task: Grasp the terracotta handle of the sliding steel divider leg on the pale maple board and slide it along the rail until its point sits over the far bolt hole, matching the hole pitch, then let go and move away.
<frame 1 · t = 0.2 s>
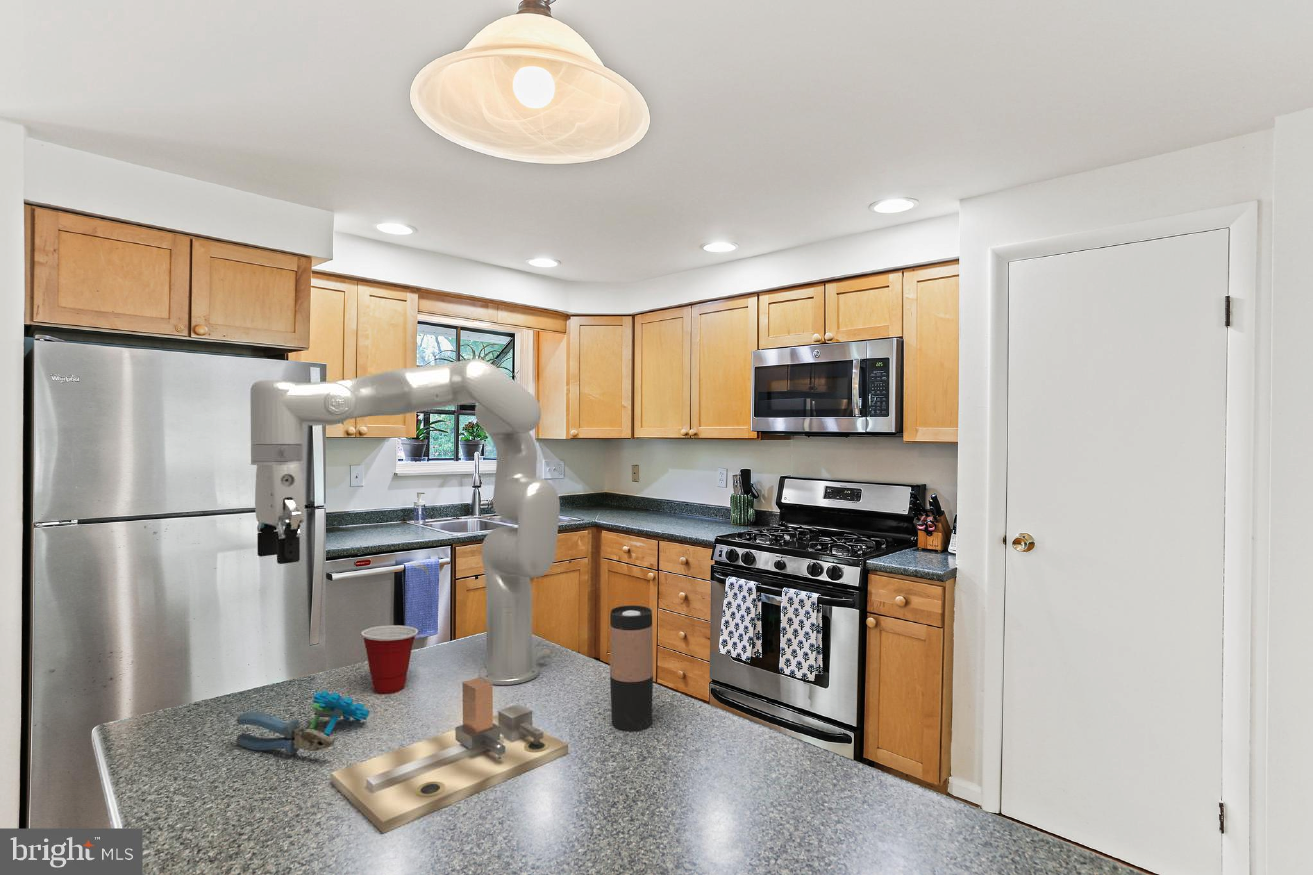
hand: (278, 558, 110), 31 cm above the countertop, tool pointing down, fingers open, 9 cm apart
pliers: (284, 755, 108), on the countertop
gear: (339, 728, 118), on the countertop
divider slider: (485, 718, 104), point 7 cm above the countertop, slide at 0.0 cm
travel mug: (631, 723, 119), on the countertop
pitch board: (454, 767, 103), on the countertop
plastic cup: (390, 689, 135), on the countertop
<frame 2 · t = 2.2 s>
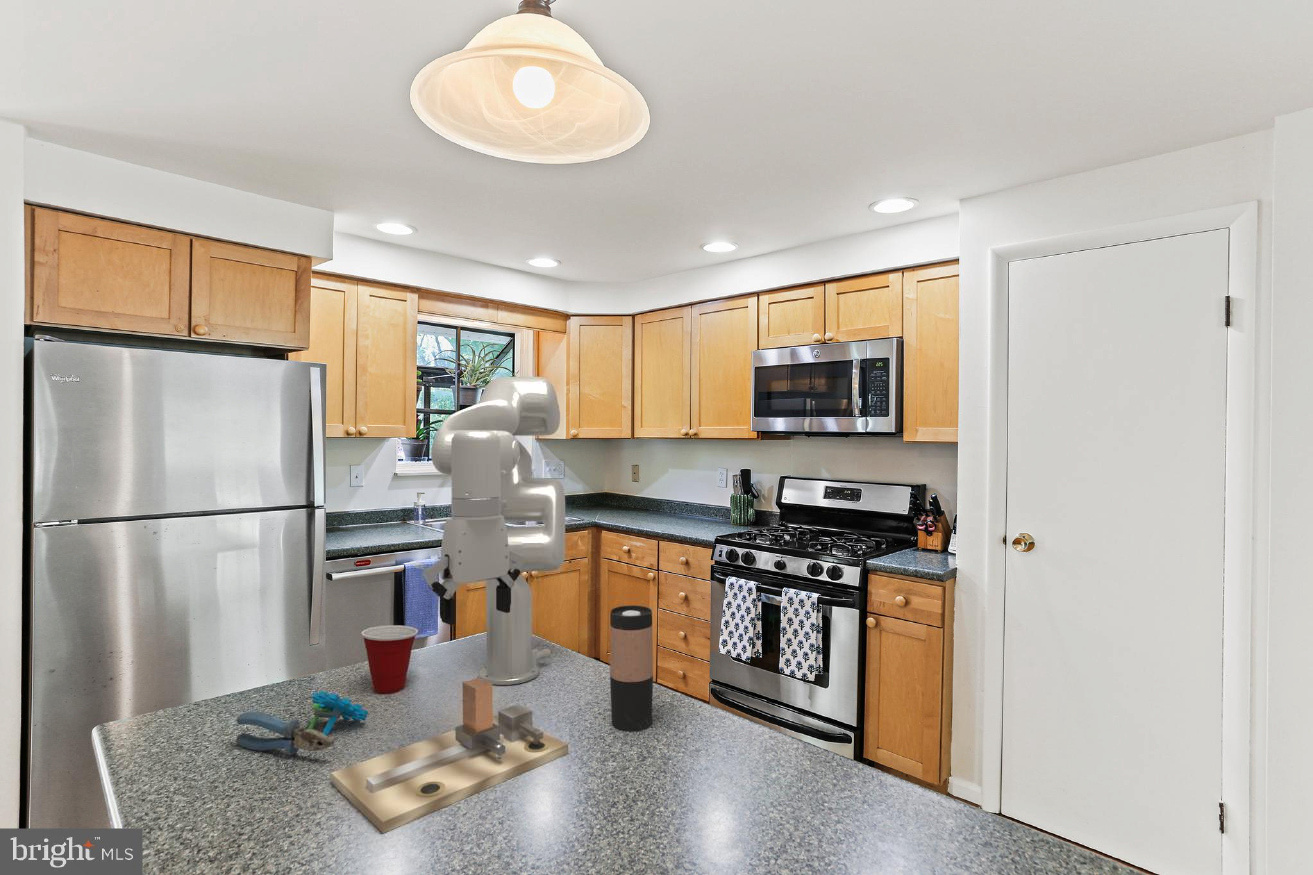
hand: (476, 617, 105), 23 cm above the countertop, tool pointing down, fingers open, 9 cm apart
nothing on the countertop moved.
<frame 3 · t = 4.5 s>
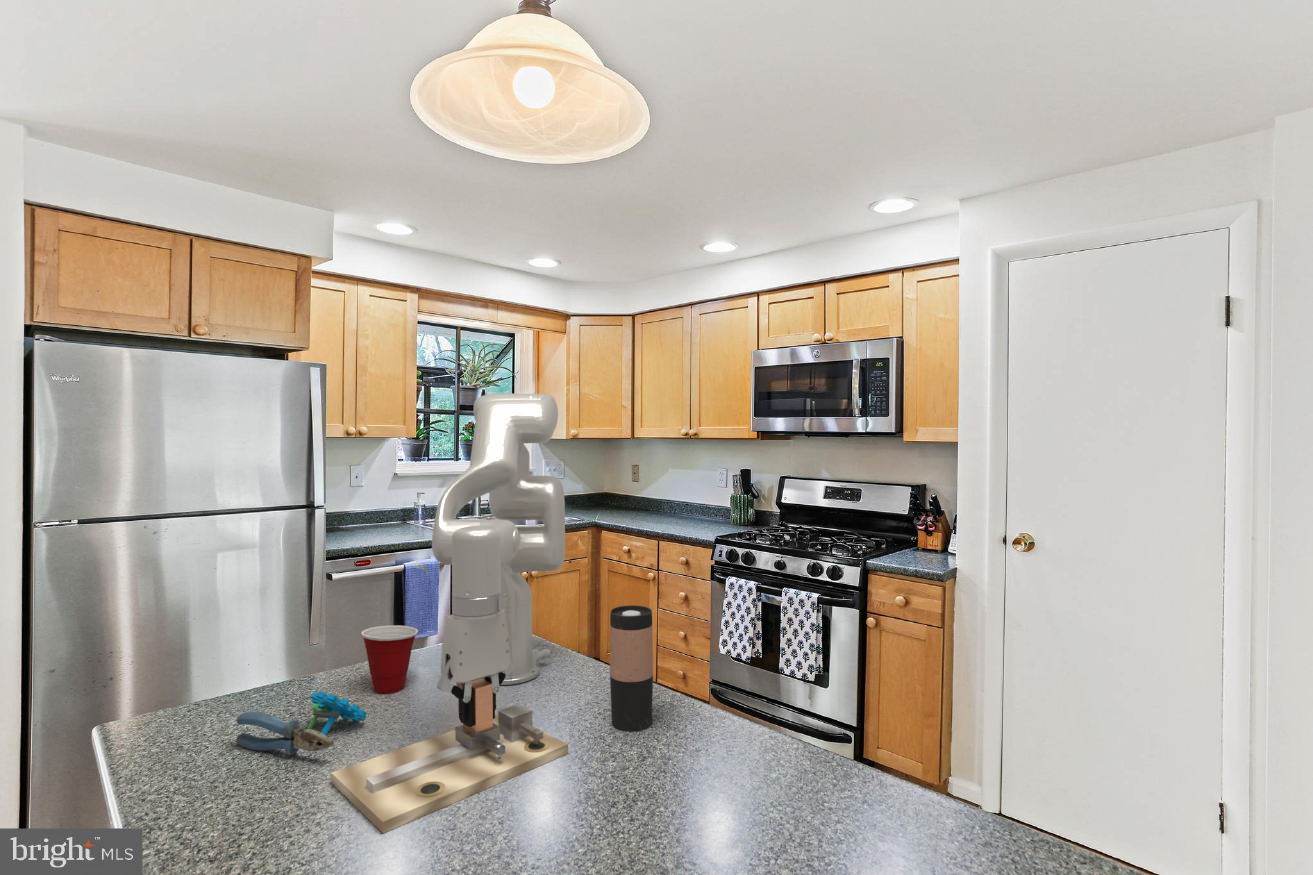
hand: (477, 719, 106), 6 cm above the countertop, tool pointing down, fingers closed on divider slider, 3 cm apart
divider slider: (485, 718, 104), point 7 cm above the countertop, slide at 0.0 cm, touching gripper
everything else where it was.
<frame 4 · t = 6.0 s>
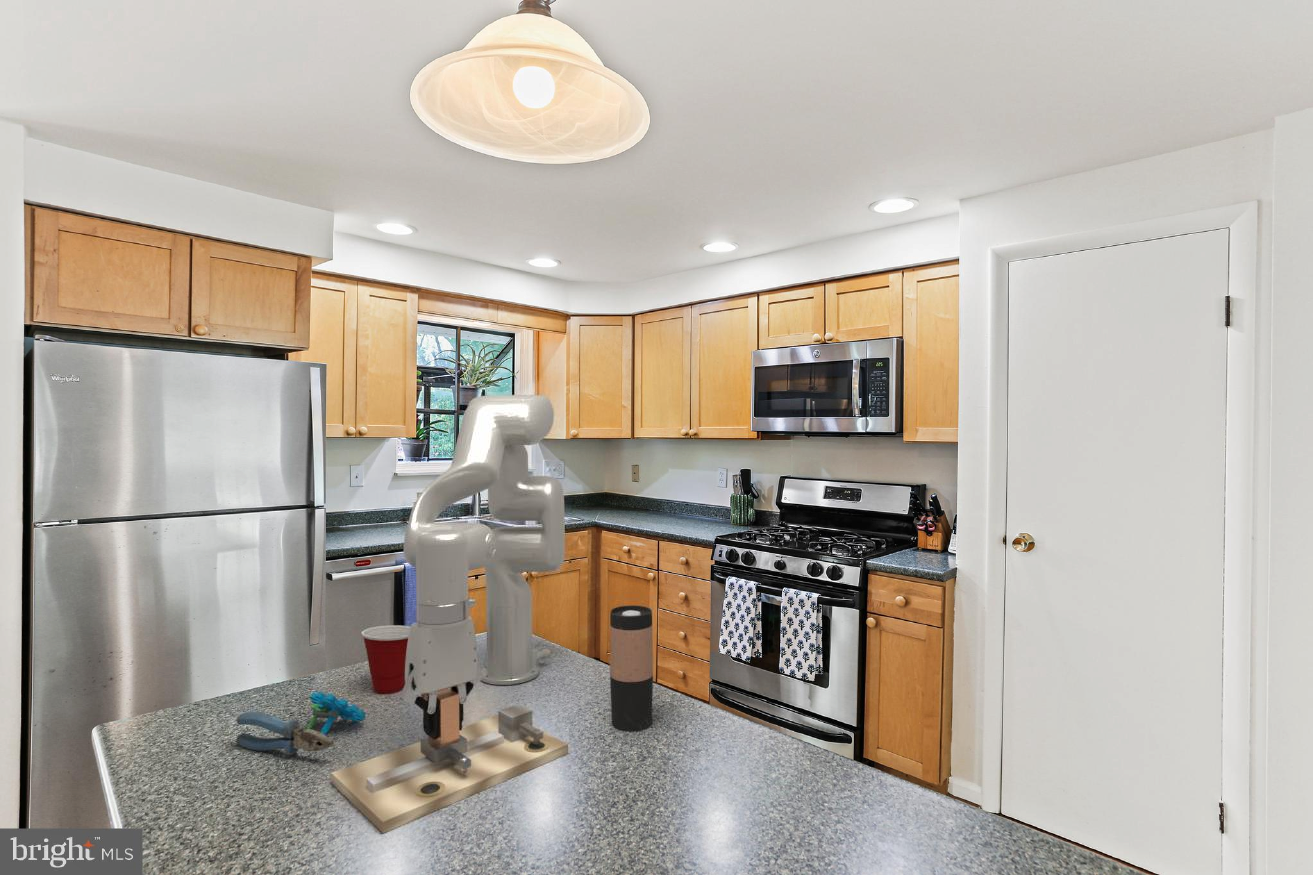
hand: (443, 731, 102), 6 cm above the countertop, tool pointing down, fingers closed on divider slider, 3 cm apart
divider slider: (450, 730, 100), point 7 cm above the countertop, slide at 5.8 cm, touching gripper
everything else where it was.
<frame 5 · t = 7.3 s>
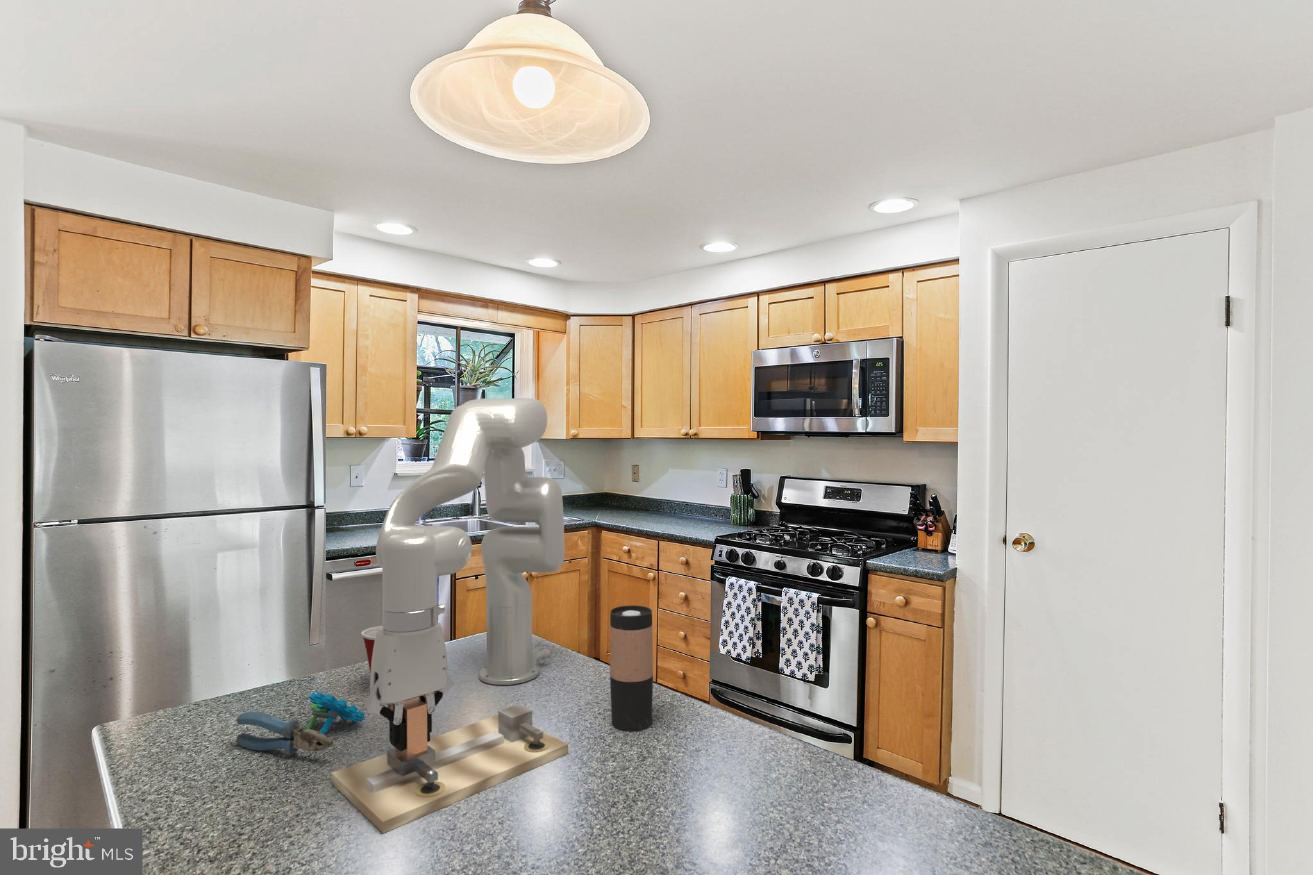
hand: (411, 742, 98), 6 cm above the countertop, tool pointing down, fingers closed on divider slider, 3 cm apart
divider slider: (418, 741, 96), point 7 cm above the countertop, slide at 10.9 cm, touching gripper
everything else where it was.
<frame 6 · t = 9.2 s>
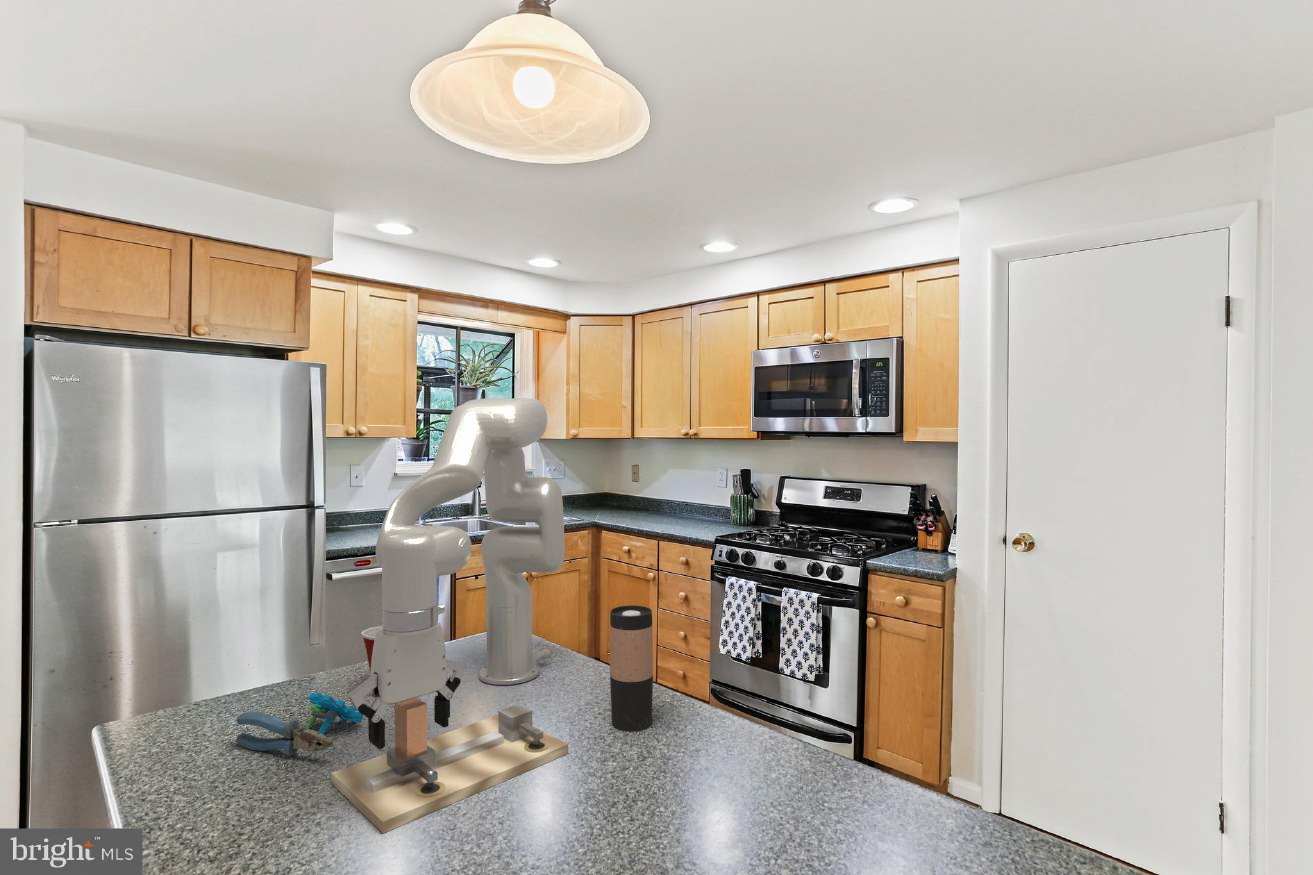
hand: (410, 734, 98), 7 cm above the countertop, tool pointing down, fingers open, 9 cm apart
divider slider: (417, 741, 96), point 7 cm above the countertop, slide at 11.0 cm
everything else where it was.
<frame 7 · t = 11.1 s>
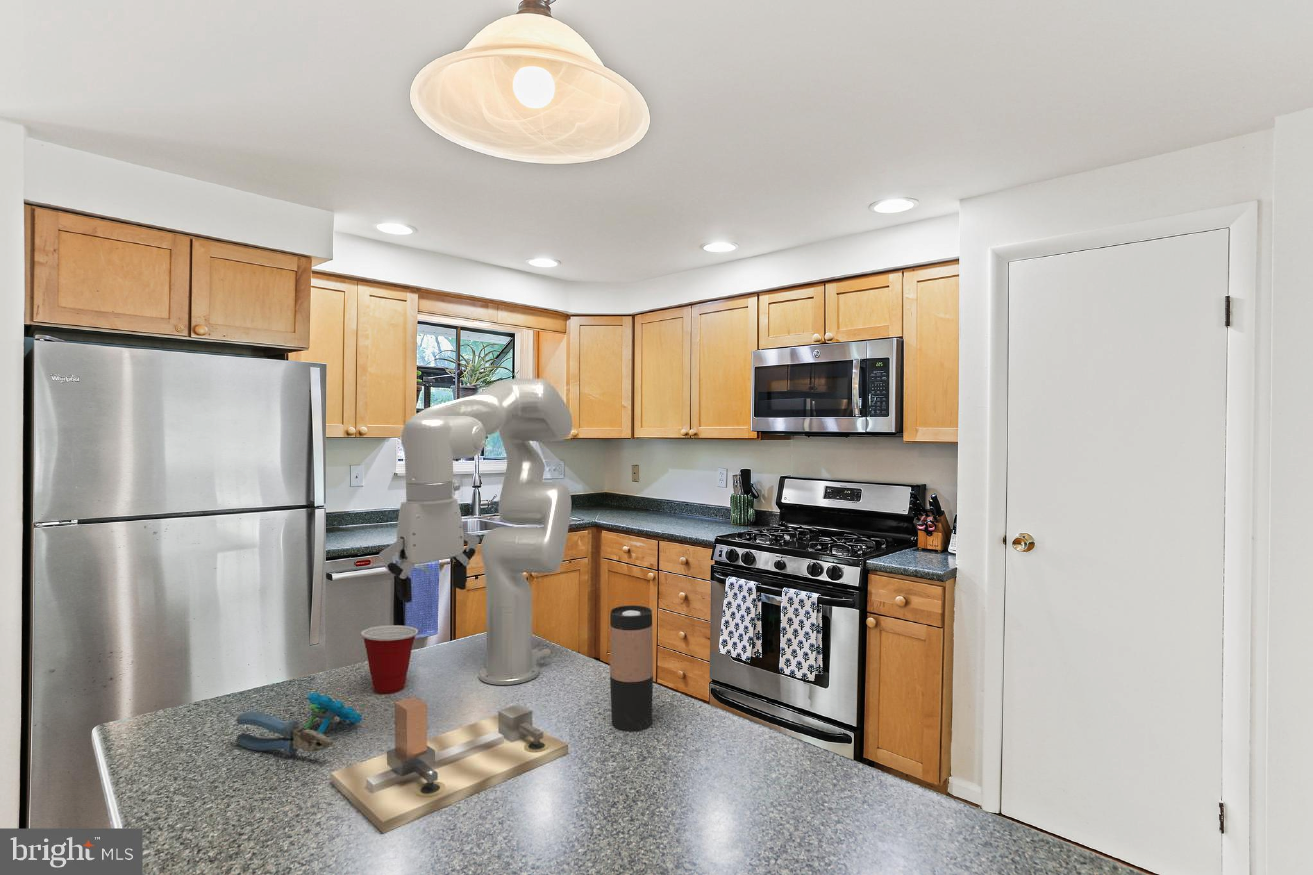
hand: (433, 594, 111), 25 cm above the countertop, tool pointing down, fingers open, 9 cm apart
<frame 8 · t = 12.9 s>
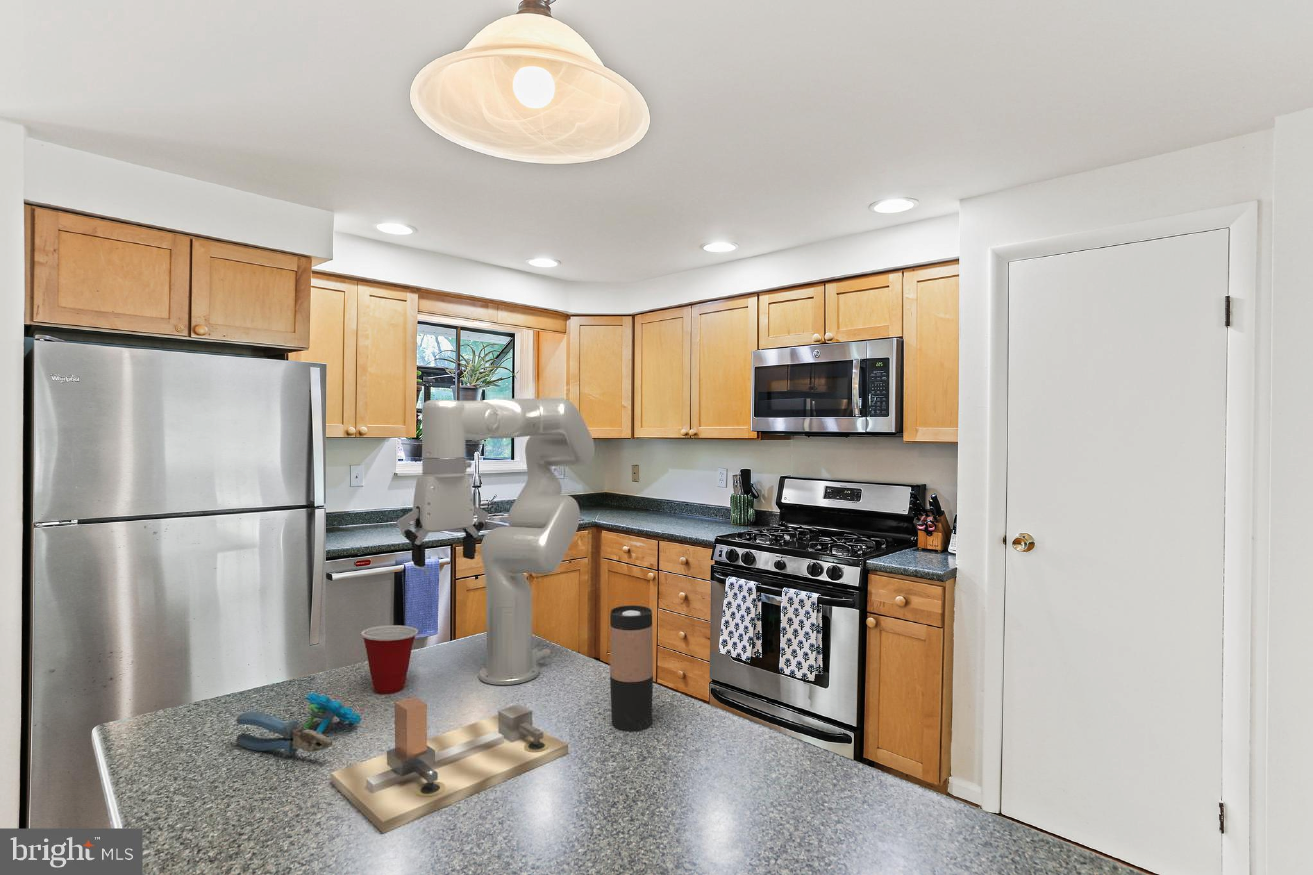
hand: (444, 562, 121), 28 cm above the countertop, tool pointing down, fingers open, 9 cm apart
at the end: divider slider slide at 11.0 cm; the gripper is holding nothing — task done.
